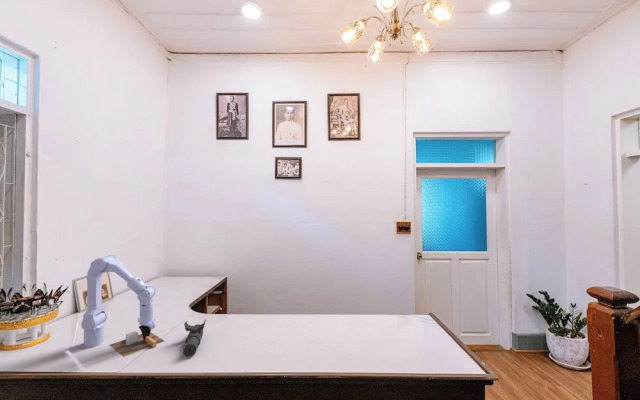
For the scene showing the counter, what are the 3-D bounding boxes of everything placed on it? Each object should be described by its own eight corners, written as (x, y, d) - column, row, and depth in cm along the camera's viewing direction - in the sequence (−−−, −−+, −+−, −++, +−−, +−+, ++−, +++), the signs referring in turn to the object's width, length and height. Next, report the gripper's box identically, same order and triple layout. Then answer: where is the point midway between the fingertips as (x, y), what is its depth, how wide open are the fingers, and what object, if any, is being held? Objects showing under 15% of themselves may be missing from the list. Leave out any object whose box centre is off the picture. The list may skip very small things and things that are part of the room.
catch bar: (145, 342, 141) (145, 337, 141) (148, 341, 142) (148, 336, 142) (153, 347, 135) (153, 342, 135) (156, 346, 136) (156, 341, 136)
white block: (125, 344, 139) (125, 334, 139) (135, 341, 142) (135, 331, 142) (129, 346, 136) (129, 336, 136) (138, 343, 140) (138, 333, 140)
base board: (109, 346, 138) (109, 341, 138) (149, 333, 153) (149, 328, 153) (123, 358, 128) (123, 353, 128) (164, 342, 142) (164, 337, 142)
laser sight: (178, 358, 128) (178, 336, 128) (187, 335, 150) (187, 317, 150) (201, 355, 131) (201, 333, 131) (207, 333, 152) (207, 315, 152)
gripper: (161, 313, 141) (161, 340, 141) (148, 306, 149) (148, 332, 149) (146, 317, 135) (145, 346, 135) (133, 310, 144) (133, 337, 144)
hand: (146, 339), depth 142 cm, fingers closed, pressing on base board
